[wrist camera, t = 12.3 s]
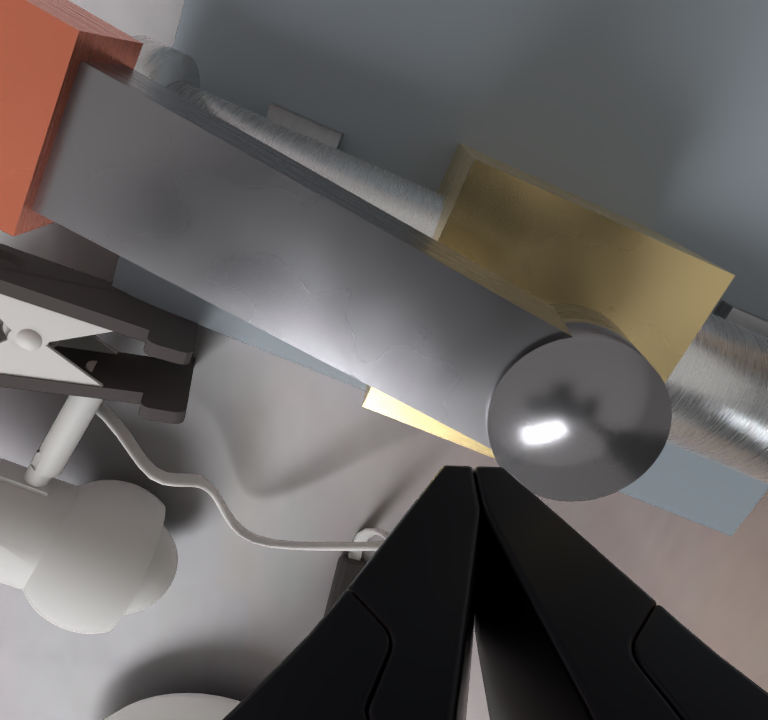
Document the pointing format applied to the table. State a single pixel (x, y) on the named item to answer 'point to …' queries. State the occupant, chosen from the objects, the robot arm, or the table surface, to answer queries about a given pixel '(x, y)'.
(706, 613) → the table surface
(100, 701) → the table surface
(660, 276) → the pipe and valve
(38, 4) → the lever
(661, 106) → the slate board
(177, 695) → the flower in vase
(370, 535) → the clip-on lamp
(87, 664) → the table surface
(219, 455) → the table surface
